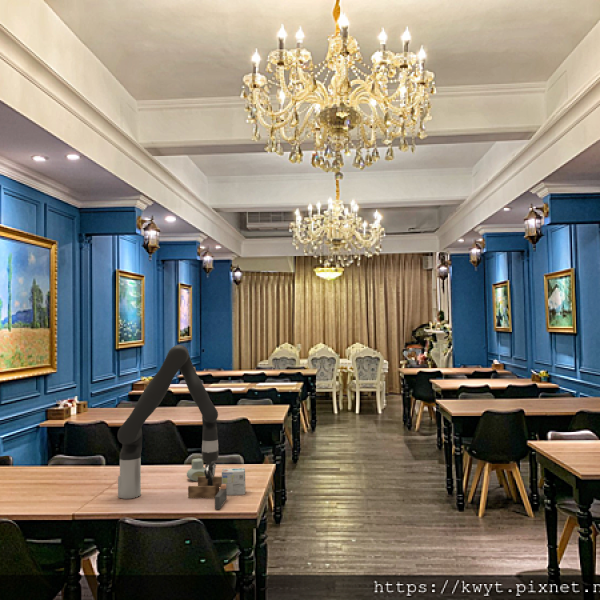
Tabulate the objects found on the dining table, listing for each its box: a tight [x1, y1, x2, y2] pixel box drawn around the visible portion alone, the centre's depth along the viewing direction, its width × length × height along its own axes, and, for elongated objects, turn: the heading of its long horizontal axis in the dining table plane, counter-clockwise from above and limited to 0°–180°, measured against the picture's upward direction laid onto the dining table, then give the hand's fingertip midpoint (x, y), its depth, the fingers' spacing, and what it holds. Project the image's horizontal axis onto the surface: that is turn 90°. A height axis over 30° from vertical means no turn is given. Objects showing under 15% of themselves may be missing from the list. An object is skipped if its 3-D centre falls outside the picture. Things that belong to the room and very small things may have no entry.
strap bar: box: [214, 484, 228, 510], centre depth 234 cm, size 2×14×6 cm, turn 176°
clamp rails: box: [187, 475, 222, 499], centre depth 252 cm, size 14×18×6 cm
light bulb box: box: [221, 467, 246, 496], centre depth 250 cm, size 11×7×11 cm, turn 93°
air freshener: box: [186, 458, 206, 482], centre depth 275 cm, size 11×8×10 cm
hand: (210, 487), depth 252 cm, fingers closed
